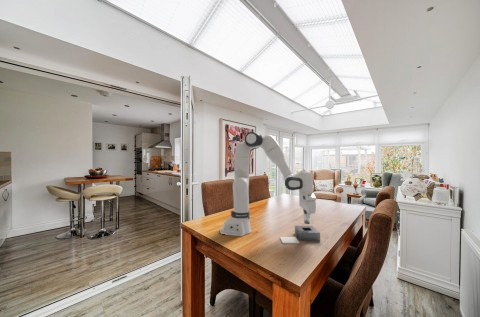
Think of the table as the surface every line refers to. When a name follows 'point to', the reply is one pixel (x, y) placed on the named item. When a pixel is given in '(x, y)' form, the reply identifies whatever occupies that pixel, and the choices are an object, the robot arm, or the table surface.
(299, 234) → the block
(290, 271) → the table surface
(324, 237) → the table surface
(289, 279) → the table surface
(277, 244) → the table surface
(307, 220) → the chuck key
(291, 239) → the set down mat
